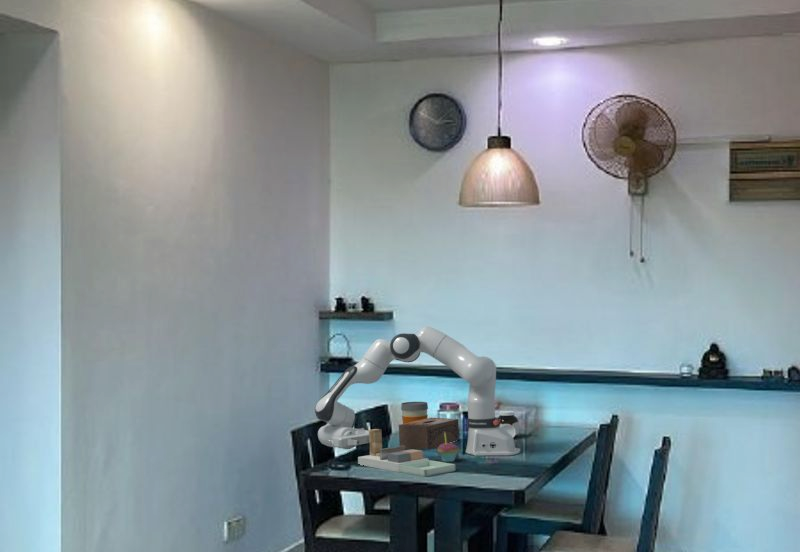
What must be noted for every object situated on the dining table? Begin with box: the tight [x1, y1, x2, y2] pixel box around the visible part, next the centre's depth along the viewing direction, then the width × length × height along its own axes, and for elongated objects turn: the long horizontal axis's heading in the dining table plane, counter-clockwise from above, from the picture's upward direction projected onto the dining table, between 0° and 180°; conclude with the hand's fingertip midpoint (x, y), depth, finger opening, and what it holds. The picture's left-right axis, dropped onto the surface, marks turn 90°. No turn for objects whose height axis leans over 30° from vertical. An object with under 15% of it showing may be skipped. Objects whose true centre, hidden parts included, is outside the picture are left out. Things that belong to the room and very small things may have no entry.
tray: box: [398, 459, 457, 478], centre depth 392 cm, size 15×15×2 cm
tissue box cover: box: [398, 417, 460, 450], centre depth 459 cm, size 26×14×10 cm, turn 145°
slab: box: [357, 454, 430, 473], centre depth 407 cm, size 25×15×3 cm, turn 40°
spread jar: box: [496, 410, 520, 439], centre depth 468 cm, size 12×11×12 cm
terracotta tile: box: [401, 448, 424, 461], centre depth 403 cm, size 6×6×3 cm
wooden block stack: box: [368, 428, 406, 460], centre depth 412 cm, size 13×12×10 cm
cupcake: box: [436, 431, 460, 463], centre depth 414 cm, size 9×8×12 cm
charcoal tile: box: [388, 451, 410, 463], centre depth 399 cm, size 6×6×3 cm
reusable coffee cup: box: [400, 401, 429, 424], centre depth 487 cm, size 13×13×15 cm
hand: (367, 441), depth 420 cm, fingers open, 8 cm apart
